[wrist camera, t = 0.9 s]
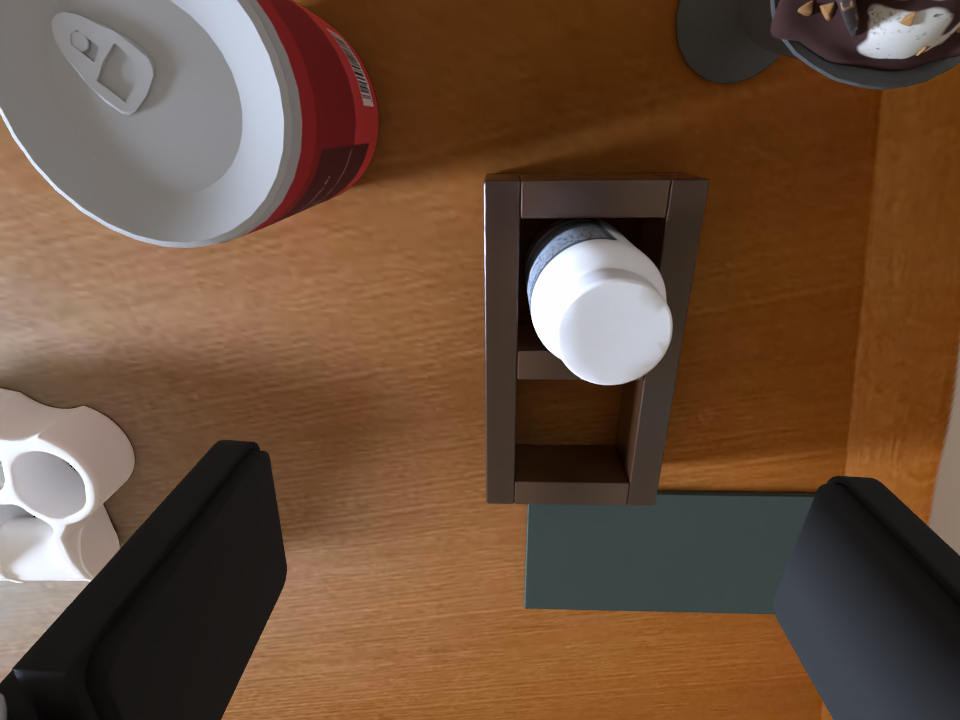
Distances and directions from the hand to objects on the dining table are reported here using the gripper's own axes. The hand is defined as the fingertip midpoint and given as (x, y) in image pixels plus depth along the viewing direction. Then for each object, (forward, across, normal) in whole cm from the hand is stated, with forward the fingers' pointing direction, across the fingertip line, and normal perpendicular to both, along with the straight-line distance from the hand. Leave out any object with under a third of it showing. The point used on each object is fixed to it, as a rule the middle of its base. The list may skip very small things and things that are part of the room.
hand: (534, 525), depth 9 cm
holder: (+18, -3, +4) cm, 19 cm away
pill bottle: (+18, -3, 0) cm, 19 cm away
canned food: (+18, +10, -6) cm, 22 cm away
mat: (+18, -11, +18) cm, 28 cm away
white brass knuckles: (+18, +31, +15) cm, 39 cm away
